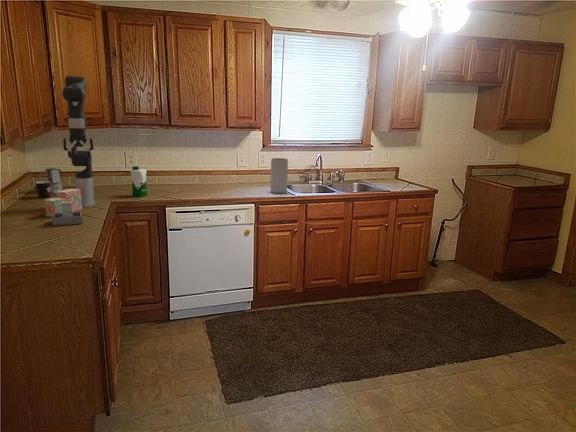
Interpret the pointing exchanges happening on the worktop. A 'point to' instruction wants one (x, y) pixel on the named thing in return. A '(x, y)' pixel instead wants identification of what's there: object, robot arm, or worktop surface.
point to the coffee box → (54, 179)
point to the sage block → (67, 209)
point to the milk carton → (138, 182)
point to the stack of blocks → (64, 196)
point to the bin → (67, 219)
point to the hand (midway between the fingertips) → (79, 158)
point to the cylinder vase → (279, 175)
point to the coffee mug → (43, 189)
